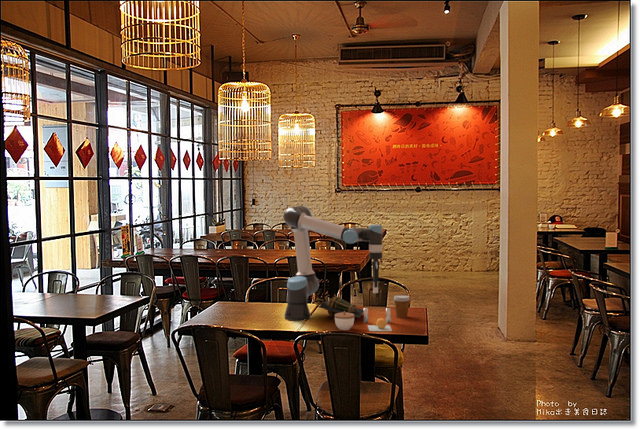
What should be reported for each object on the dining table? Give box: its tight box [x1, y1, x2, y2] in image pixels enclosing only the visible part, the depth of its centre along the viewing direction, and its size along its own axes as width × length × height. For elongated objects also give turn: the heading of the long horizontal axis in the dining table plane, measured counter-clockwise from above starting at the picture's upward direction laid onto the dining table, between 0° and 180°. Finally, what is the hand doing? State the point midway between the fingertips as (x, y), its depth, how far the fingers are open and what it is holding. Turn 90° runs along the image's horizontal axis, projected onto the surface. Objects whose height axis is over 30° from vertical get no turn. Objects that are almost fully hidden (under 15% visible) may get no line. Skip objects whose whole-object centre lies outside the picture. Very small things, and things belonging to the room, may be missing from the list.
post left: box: [363, 307, 369, 324], centre depth 322 cm, size 3×3×8 cm
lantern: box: [313, 294, 364, 318], centre depth 335 cm, size 14×23×30 cm
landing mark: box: [367, 324, 393, 332], centre depth 309 cm, size 12×12×1 cm
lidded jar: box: [334, 311, 355, 331], centre depth 308 cm, size 11×11×9 cm
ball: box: [375, 317, 387, 329], centre depth 309 cm, size 6×6×6 cm
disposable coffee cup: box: [393, 294, 411, 319], centre depth 336 cm, size 10×10×12 cm
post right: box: [385, 307, 392, 324], centre depth 322 cm, size 3×3×8 cm
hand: (375, 292), depth 329 cm, fingers closed
